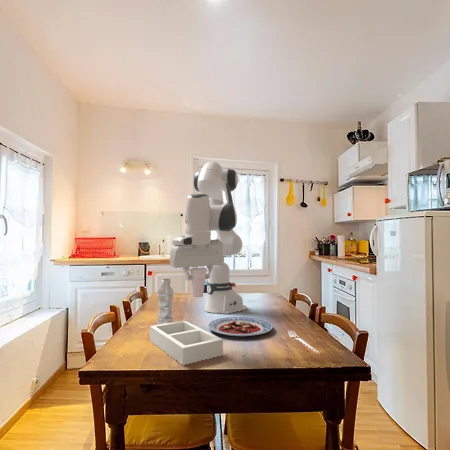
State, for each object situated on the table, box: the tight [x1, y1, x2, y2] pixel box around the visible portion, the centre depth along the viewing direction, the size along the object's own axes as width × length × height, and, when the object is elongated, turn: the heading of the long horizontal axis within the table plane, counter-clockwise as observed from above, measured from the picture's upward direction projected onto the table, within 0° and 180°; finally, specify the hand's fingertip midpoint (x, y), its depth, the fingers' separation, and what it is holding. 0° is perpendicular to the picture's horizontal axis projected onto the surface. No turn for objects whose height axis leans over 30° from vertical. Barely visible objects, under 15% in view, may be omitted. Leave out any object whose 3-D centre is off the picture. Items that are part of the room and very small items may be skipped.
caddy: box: [149, 320, 224, 366], centre depth 105 cm, size 26×14×5 cm, turn 34°
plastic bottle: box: [156, 278, 174, 325], centre depth 126 cm, size 6×7×20 cm
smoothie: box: [188, 266, 208, 298], centre depth 108 cm, size 6×6×14 cm
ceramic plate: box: [208, 316, 273, 338], centre depth 126 cm, size 26×26×3 cm
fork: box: [287, 330, 319, 353], centre depth 110 cm, size 3×20×2 cm, turn 15°
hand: (198, 279), depth 109 cm, fingers closed on smoothie, 6 cm apart
